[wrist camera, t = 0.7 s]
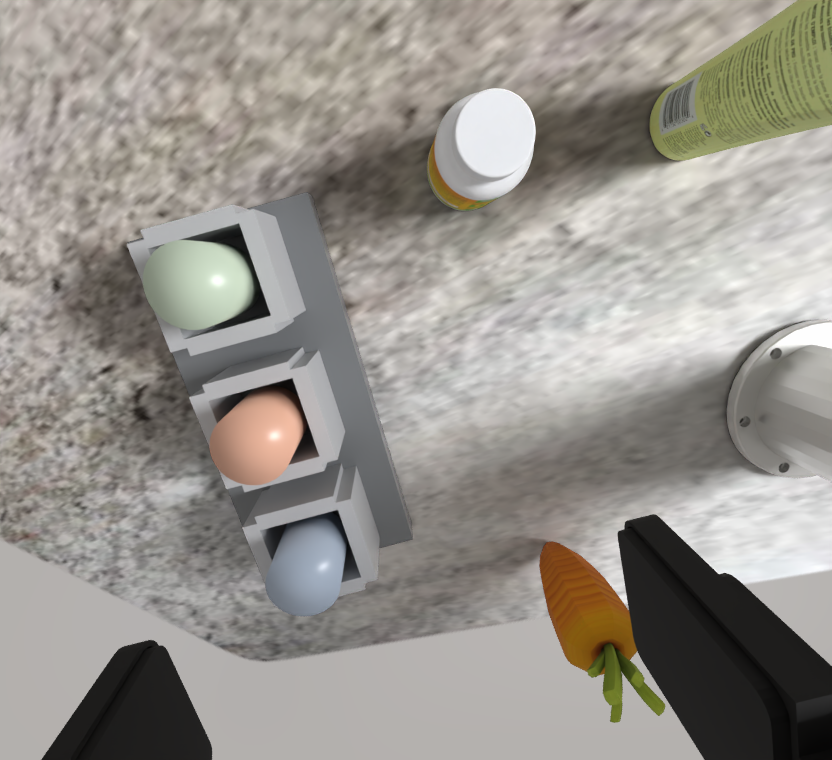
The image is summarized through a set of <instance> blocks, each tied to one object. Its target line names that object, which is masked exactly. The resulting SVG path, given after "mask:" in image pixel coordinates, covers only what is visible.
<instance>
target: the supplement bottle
mask: <svg viewBox="0 0 832 760" xmlns="http://www.w3.org/2000/svg"><path fill="white" fill-rule="evenodd" d="M535 133H536V129H535V122H534V118H533V115H532V112H531V110H530V108H529V107H528V105H527V104H526V103H525V101H524V100H523V99H522V98H521V97H519V96H518V95H517V94H515V93H513V92H511V91H509V90H506V89H500V88H492V89H487V90H484V91H481V92H477V93H473V94H470V95H468V96H466V97H464V98H462V99H461V100H459V101H458V102H456V103H455V104H454V105H453V106H452V107H451V108H450V109H449V110H448V112H447V113H446V114H445V116H444V118H443V119H442V121H441V123H440V125H439V127H438V130H437V133H436V136H435V139H434V141H433V144H432V147H431V149H430V152H429V156H428V161H427V177H428V181H429V184H430V187H431V189H432V191H433V192H434V194H435V195H436V197H437V198H438V199H439V200H440V201H441V202H442V203H444V204H445V205H447V206H449V207H451V208H453V209H456V210H460V211H470V210H476V209H479V208H481V207H483V206H485V205H487V204H489V203H491V202H492V201H494V200H496V199H497V198H499V197H501V196H503V195H505V194H506V193H508V192H509V191H511V190H512V189H513V188H514V187H515V186H516V185H518V183H519V182H520V181H521V180H522V178H523V177H524V176H525V174H526V172H527V171H528V168H529V166H530V163H531V160H532V156H533V150H534V142H535Z"/></svg>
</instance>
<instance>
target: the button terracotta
mask: <svg viewBox="0 0 832 760" xmlns="http://www.w3.org/2000/svg"><path fill="white" fill-rule="evenodd" d="M306 427H307V419H306V416H305V413H304V410H303V407H302V404H301V401H300V399H299V398H298V397H297V396H296V395H295V394H294V393H293V392H291V391H289V390H287V389H285V388H282V387H279V386H263V387H260V388H257V389H255V390H253V391H252V392H250V393H249V394H248V395H247V396H246V397H245V398H244V399H243V400H241V401H240V402H239V403H238V404H237V405H236V406H235V407H234V408H233V409H232V410H231V411H230V412H229V413H228V414H227V415H226V416H224V417H223V418H222V419H221V420H220V421H219V422H218V423H217V425H216V426H215V428H214V429H213V431H212V434H211V437H210V444H209V445H210V454H211V457H212V460H213V462H214V464H215V465H216V467H217V468H218V469H219V470H220V472H222V473H223V474H224V475H225V476H226V477H228V478H229V479H231V480H233V481H235V482H237V483H241V484H245V485H262V484H266V483H269V482H271V481H273V480H275V479H276V478H278V477H279V476H280V475H281V474H282V473H283V472H284V471H285V470H286V468H287V467H288V465H289V463H290V461H291V459H292V457H293V455H294V453H295V451H296V449H297V447H298V445H299V443H300V441H301V439H302V437H303V435H304V433H305V431H306Z"/></svg>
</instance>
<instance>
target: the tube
mask: <svg viewBox="0 0 832 760" xmlns="http://www.w3.org/2000/svg"><path fill="white" fill-rule="evenodd" d="M828 125H832V0H797V1H796V2H795V3H793V4H792V5H790V6H789V7H787V8H786V9H785V10H783V11H782V12H780V13H779V14H777V15H776V16H775V17H773V18H772V19H770V20H769V21H767V22H766V23H765V24H763V25H762V26H760V27H759V28H757V29H756V30H754V31H753V32H751V33H750V34H748V35H747V36H745V37H744V38H742V39H741V40H739V41H738V42H737V43H735V44H734V45H732V46H731V47H729V48H728V49H726V50H725V51H723V52H722V53H720V54H719V55H717V56H716V57H714V58H713V59H711V60H709V61H708V62H706V63H705V64H703V65H702V66H700V67H699V68H697V69H696V70H694V71H692V72H691V73H689V74H688V75H686V76H685V77H683V78H682V79H680V80H679V81H677V82H675V83H674V84H672V85H671V86H670V87H668V88H667V89H666V90H665V91H664V92H663V93H662V94H661V95H660V96H659V98H658V99H657V101H656V103H655V105H654V107H653V110H652V112H651V116H650V134H651V138H652V141H653V143H654V145H655V147H656V148H657V150H658V151H659V152H660V153H661V154H662V155H664V156H666V157H667V158H670V159H673V160H679V161H680V160H689V159H692V158H696V157H700V156H704V155H707V154H711V153H715V152H719V151H723V150H727V149H730V148H734V147H738V146H742V145H747V144H751V143H755V142H759V141H763V140H767V139H771V138H776V137H780V136H784V135H789V134H793V133H797V132H802V131H806V130H810V129H815V128H819V127H824V126H828Z"/></svg>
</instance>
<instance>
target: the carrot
mask: <svg viewBox="0 0 832 760" xmlns="http://www.w3.org/2000/svg"><path fill="white" fill-rule="evenodd" d="M539 566H540V573H541V579H542V584H543V589H544V594H545V599H546V603H547V608H548V612H549V615H550V618H551V620H552V623H553V626H554V628H555V631H556V634H557V637H558V639H559V642H560V644H561V646H562V649H563V652H564V654H565V656H566V658H567V660H568V661H569V662H570V663H571V664H572V665H574V666H576V667H578V668H580V669H582V670H585V671H586V672H588V675H589V676H591V677H597V676H598V675H602V674H604V682H603V694H604V697H605V700H606V701H607V702H608V703H609V705H612V710H611V720H610V721H611V722H614V723H615V722H619V721H620V719H621V714H622V690H623V689H622V673H623V674H624V676H625V677H626V678H627V679H628V681H629V682H630V684H631V685H632V686H633V687H634V689H635V690H636V691H637V693H638V694H639V695H640V697H641V698H642V699H643V701H644V702H645V703H646V704H647V705H648V706H649V707H650V708H651V709H652V710H653V711H654V712H655V713H656V714H657V715H658V716H660V714H662V713H663V712H664V709H665V704H664V703H663V701H662V700H661V699H660V698H659V697H658V696H657V695H656V694H655V693H654V692H653V691H652V690H651V689H650V688H649V687H648V686H647V685H646V684H645V683H644V677H643V675H642V673H641V672H640V671H639V670H638V668H637V667H636V666H635V665H634V664H633V663H632V662H631V661H630V659H631V658H632V657H633V656H634V654H635V653H636V652H637V648H636V646H635V643H634V638H633V632H632V626H631V619H630V613H629V610H628V609H627V608H626V606H625V605H624V603H623V602H622V601H621V599H620V598H619V596H618V595H617V594H616V592H615V591H614V590H613V589H612V587H611V586H610V585H609V583H608V582H607V581H606V579H605V578H604V577H603V576H602V575H601V574H600V573H599V572H598V571H597V570H596V569H595V568H594V567H593V566H592V565H591V564H590V563H588V562H587V561H586V560H585V559H584V558H583V557H582V556H580V555H579V554H577V553H575V552H573V551H572V550H570V549H568V548H566V547H565V546H563V545H561V544H559V543H556V542H547V543H546V544H545V545H544V547H543V549H542V552H541V555H540V565H539ZM621 672H622V673H621Z"/></svg>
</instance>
